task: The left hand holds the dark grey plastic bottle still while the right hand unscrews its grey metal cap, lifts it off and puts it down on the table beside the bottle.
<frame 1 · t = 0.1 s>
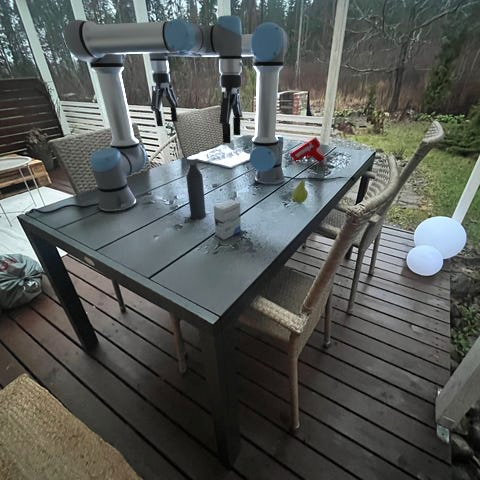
left hand: (232, 138, 104), 28 cm above the table, tool pointing down, fingers open, 13 cm apart
right hand: (167, 123, 132), 28 cm above the table, tool pointing down, fingers open, 13 cm apart
cap: (192, 158, 99), point 23 cm above the table, screwed on, not yet turned
toy gun: (306, 162, 172), on the table
relief map: (222, 158, 180), on the table
ink box: (228, 233, 99), on the table
fruit: (299, 202, 122), on the table
bottle: (198, 215, 111), on the table
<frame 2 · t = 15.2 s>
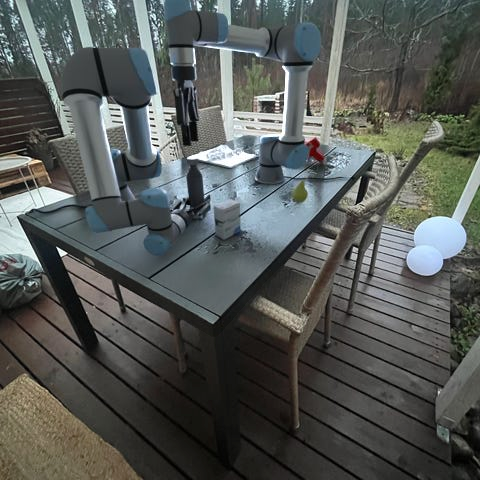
left hand: (201, 196, 112), 6 cm above the table, tool horizontal, fingers closed on bottle, 6 cm apart
right hand: (191, 143, 96), 29 cm above the table, tool pointing down, fingers open, 6 cm apart
bottle: (198, 215, 111), on the table, touching left hand
everything else where it was.
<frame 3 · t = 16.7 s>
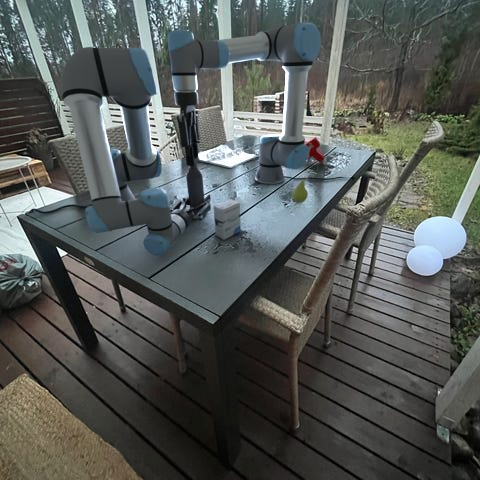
left hand: (201, 196, 112), 6 cm above the table, tool horizontal, fingers closed on bottle, 6 cm apart
right hand: (193, 163, 99), 22 cm above the table, tool pointing down, fingers closed on cap, 4 cm apart
cap: (192, 158, 99), point 23 cm above the table, screwed on, not yet turned, touching right hand
bottle: (198, 215, 111), on the table, touching left hand
everything else where it was.
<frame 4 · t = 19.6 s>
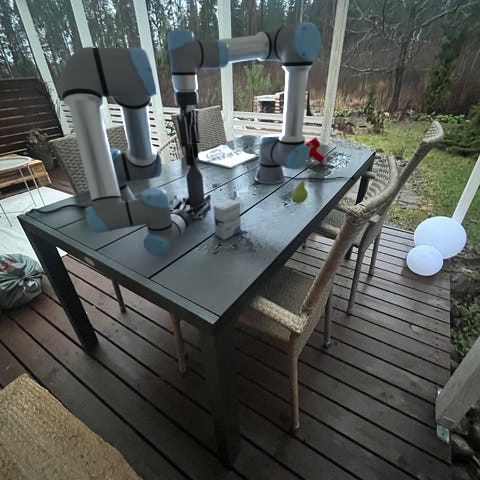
left hand: (201, 196, 112), 6 cm above the table, tool horizontal, fingers closed on bottle, 6 cm apart
right hand: (193, 163, 99), 22 cm above the table, tool pointing down, fingers closed on cap, 4 cm apart
cap: (192, 158, 98), point 23 cm above the table, turned 89° so far, risen 0.1 cm, still on its thread, touching right hand
bottle: (198, 215, 111), on the table, touching left hand
everything else where it was.
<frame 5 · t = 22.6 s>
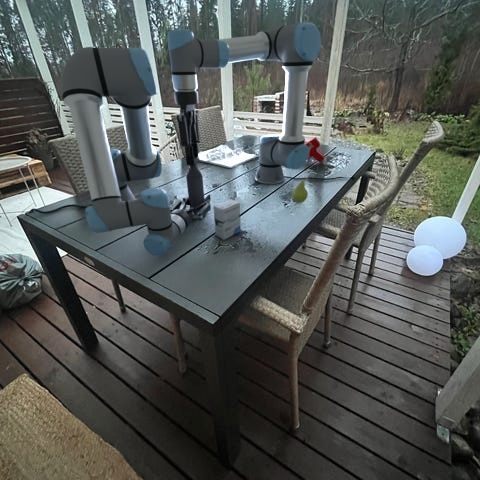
left hand: (201, 196, 112), 6 cm above the table, tool horizontal, fingers closed on bottle, 6 cm apart
right hand: (193, 163, 99), 22 cm above the table, tool pointing down, fingers closed on cap, 4 cm apart
cap: (192, 158, 98), point 24 cm above the table, turned 178° so far, risen 0.2 cm, still on its thread, touching right hand
bottle: (198, 215, 111), on the table, touching left hand
everything else where it was.
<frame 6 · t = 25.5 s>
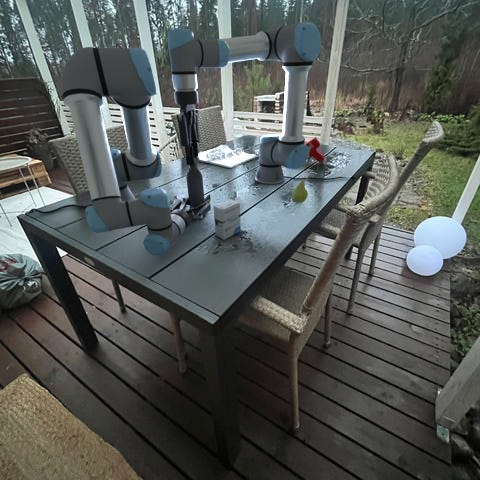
left hand: (201, 196, 112), 6 cm above the table, tool horizontal, fingers closed on bottle, 6 cm apart
right hand: (192, 162, 99), 22 cm above the table, tool pointing down, fingers closed on cap, 4 cm apart
cap: (192, 157, 98), point 24 cm above the table, turned 267° so far, risen 0.3 cm, still on its thread, touching right hand
bottle: (198, 215, 111), on the table, touching left hand
everything else where it was.
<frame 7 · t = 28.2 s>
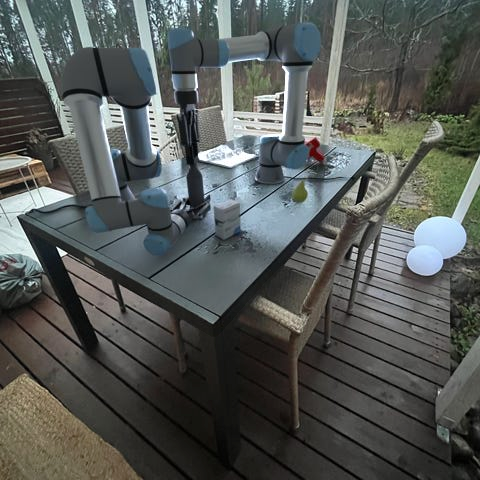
left hand: (201, 196, 112), 6 cm above the table, tool horizontal, fingers closed on bottle, 6 cm apart
right hand: (192, 162, 99), 22 cm above the table, tool pointing down, fingers closed on cap, 4 cm apart
cap: (192, 157, 98), point 24 cm above the table, turned 356° so far, risen 0.4 cm, still on its thread, touching right hand
bottle: (198, 215, 111), on the table, touching left hand
everything else where it was.
when the right hand's fingers open (2 cm above the table, at t = 38.8 s): cap drops 2 cm, point 2 cm above the table.
when the left hand's fingers open (6 cm above the table, at t = 40.0 s): bottle stays where it is, on the table.
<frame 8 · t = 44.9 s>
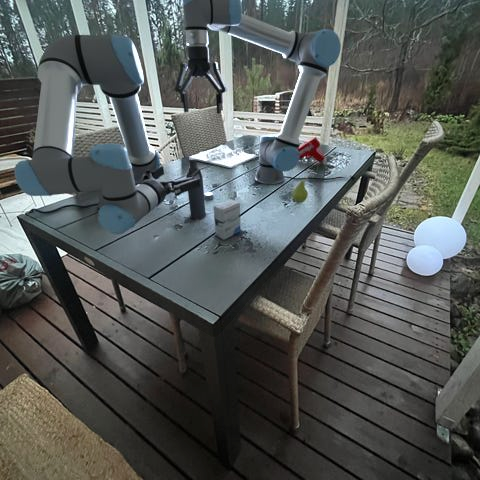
left hand: (181, 171, 91), 22 cm above the table, tool horizontal, fingers open, 13 cm apart
right hand: (202, 112, 106), 36 cm above the table, tool pointing down, fingers open, 13 cm apart
cap: (208, 194, 125), point 2 cm above the table, off its thread
bottle: (198, 215, 111), on the table
everything else where it was.
at the end: cap came off its thread; cap point 1.7 cm above the table; the left hand is holding nothing; the right hand is holding nothing; bottle tilted 0°; bottle moved 0.0 cm from its start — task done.
